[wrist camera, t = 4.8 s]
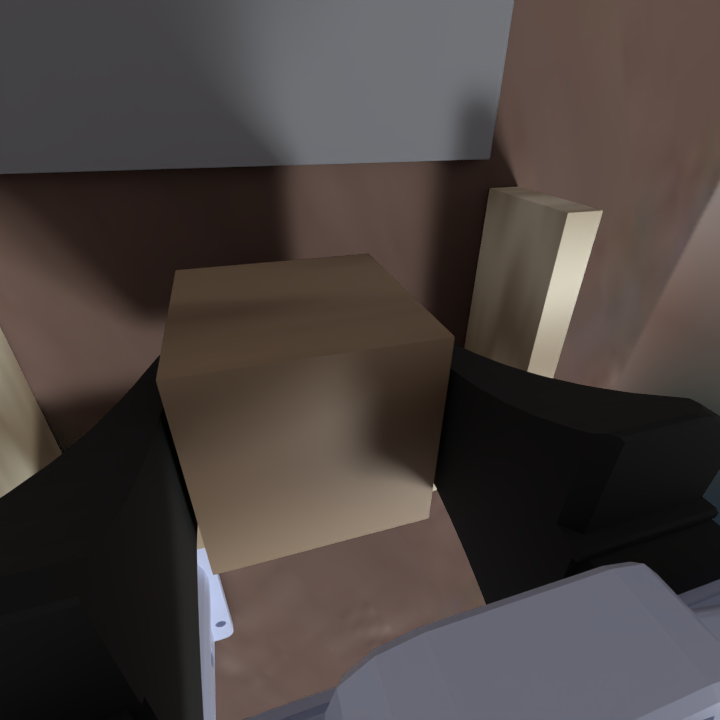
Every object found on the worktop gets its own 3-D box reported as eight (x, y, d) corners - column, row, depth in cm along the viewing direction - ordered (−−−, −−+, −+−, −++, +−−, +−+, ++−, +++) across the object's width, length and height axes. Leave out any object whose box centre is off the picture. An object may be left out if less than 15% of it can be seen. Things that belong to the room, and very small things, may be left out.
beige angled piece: (475, 409, 21) (526, 467, 17) (43, 496, 16) (2, 598, 13) (518, 186, 15) (603, 210, 12) (-113, 218, 11) (-253, 272, 7)
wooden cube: (365, 399, 14) (428, 517, 10) (210, 426, 13) (212, 575, 9) (368, 253, 12) (454, 336, 8) (175, 270, 10) (155, 380, 6)
